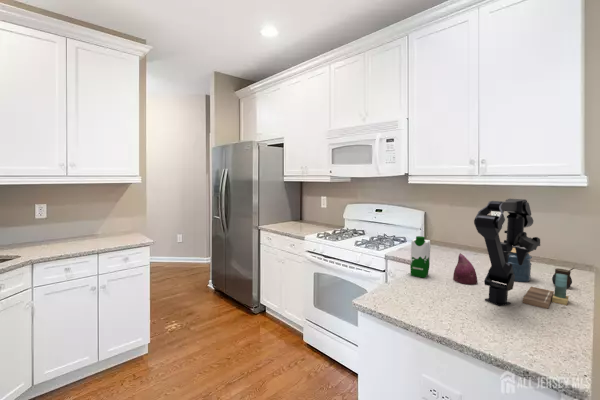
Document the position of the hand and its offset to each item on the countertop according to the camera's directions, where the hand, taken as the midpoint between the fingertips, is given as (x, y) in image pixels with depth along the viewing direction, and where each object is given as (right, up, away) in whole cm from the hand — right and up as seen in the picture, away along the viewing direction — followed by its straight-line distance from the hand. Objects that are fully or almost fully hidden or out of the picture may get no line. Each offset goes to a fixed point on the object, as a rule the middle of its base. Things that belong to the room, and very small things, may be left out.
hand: (512, 265), depth 131 cm
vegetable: (-10, -12, +20) cm, 25 cm away
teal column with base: (+17, -14, -4) cm, 22 cm away
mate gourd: (+33, -13, +15) cm, 38 cm away
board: (+9, -13, -2) cm, 16 cm away
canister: (+19, -12, +26) cm, 35 cm away
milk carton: (-29, -11, +28) cm, 41 cm away
